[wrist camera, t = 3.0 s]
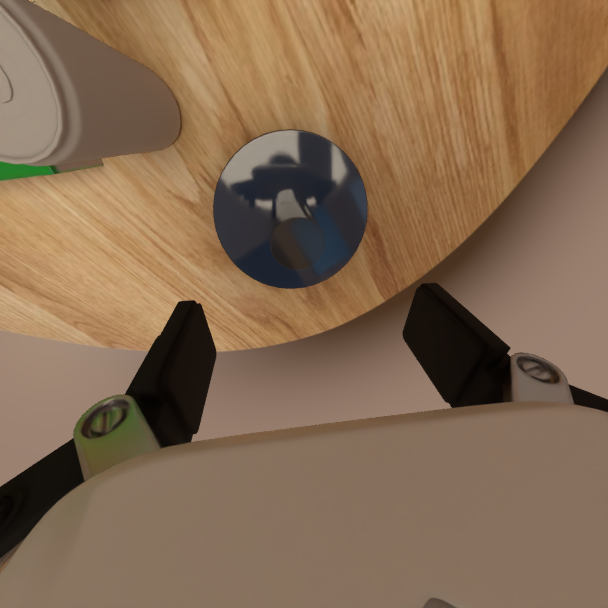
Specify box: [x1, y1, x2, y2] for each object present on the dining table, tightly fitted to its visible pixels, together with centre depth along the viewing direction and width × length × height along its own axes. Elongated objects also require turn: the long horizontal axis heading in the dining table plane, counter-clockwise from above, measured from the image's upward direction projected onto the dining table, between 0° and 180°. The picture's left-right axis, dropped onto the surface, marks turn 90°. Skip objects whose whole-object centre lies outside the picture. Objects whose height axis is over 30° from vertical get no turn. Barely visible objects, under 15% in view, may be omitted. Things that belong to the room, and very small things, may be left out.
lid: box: [213, 129, 368, 289], centre depth 20 cm, size 14×14×6 cm
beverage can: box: [0, 0, 181, 166], centre depth 12 cm, size 5×5×12 cm
